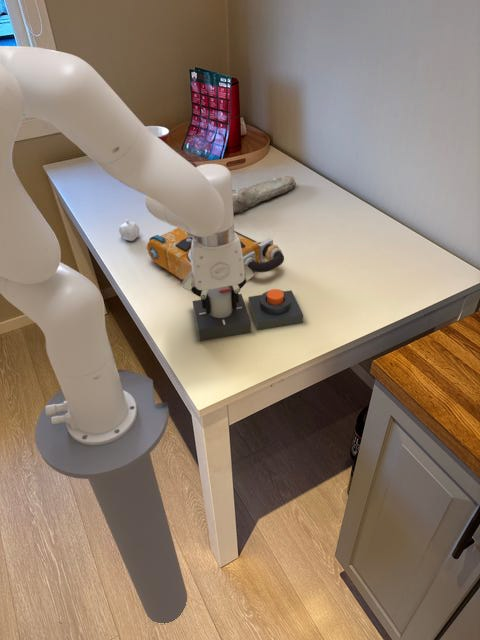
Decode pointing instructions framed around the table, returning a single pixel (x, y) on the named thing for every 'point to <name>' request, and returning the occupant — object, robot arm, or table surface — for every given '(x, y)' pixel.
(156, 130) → the plastic cup
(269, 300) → the power button
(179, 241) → the device
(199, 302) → the timer panel
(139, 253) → the table surface
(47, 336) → the robot arm
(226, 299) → the timer dial
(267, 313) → the button block
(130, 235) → the garlic
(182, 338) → the table surface
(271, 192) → the elongated rock
